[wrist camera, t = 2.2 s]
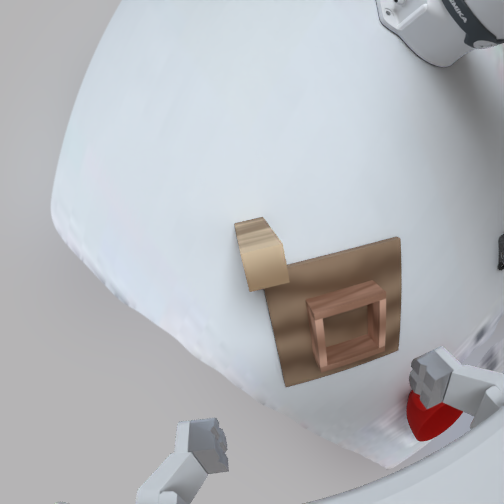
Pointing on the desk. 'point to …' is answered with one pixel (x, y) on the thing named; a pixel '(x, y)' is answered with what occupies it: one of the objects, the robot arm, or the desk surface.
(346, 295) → the wooden peg socket board
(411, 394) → the ceramic cup
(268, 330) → the desk surface
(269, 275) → the wooden peg
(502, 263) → the walkie-talkie
